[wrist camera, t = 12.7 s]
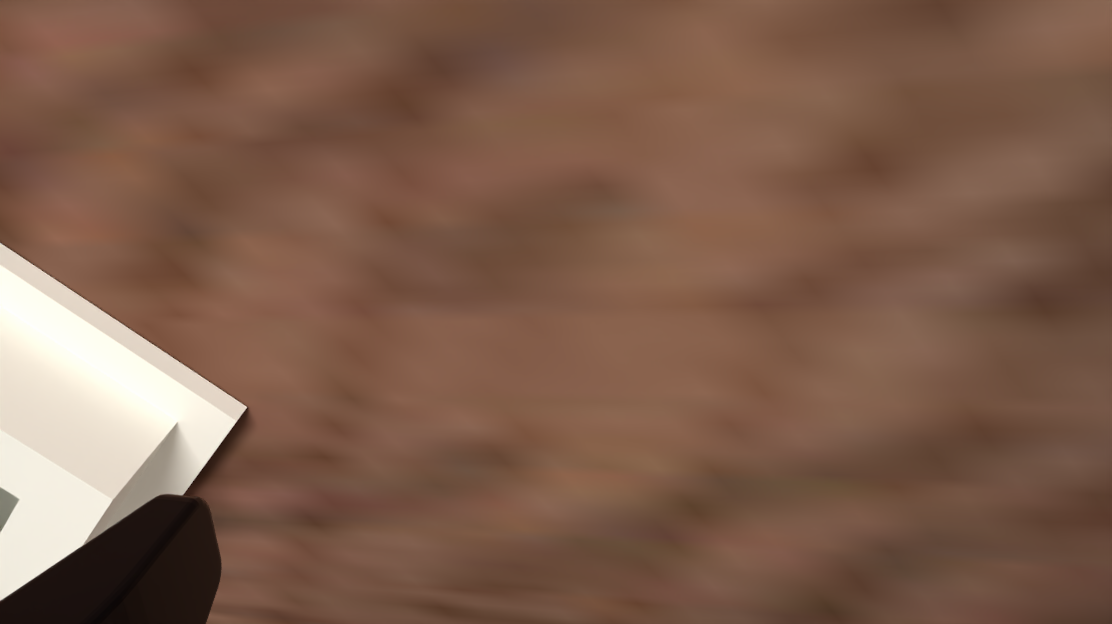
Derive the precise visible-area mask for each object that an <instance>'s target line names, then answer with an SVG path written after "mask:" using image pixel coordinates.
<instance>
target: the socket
mask: <svg viewBox="0 0 1112 624" xmlns="http://www.w3.org/2000/svg"><path fill="white" fill-rule="evenodd" d="M246 408H247V407H246V406H245V405H243V404H242V403H240V402H239V401H237V400H236V399H234V398H233V397H231V396H230V395H228V394H227V393H225V392H224V391H222V390H221V389H219V388H218V387H216V386H215V385H213V384H212V383H210V382H209V381H207V380H206V379H204V378H203V377H201V376H200V375H198V374H197V373H195V372H194V371H192V370H191V369H189V368H188V367H186V366H185V365H183V364H182V363H180V362H179V361H177V360H176V359H174V358H173V357H171V356H170V355H168V354H167V353H165V352H164V351H162V350H160V349H159V348H157V347H156V346H154V345H153V344H151V343H150V342H148V341H147V340H145V339H144V338H142V337H141V336H139V335H138V334H136V333H135V332H133V331H132V330H130V329H129V328H127V327H126V326H124V325H123V324H121V323H120V322H118V321H117V320H115V319H114V318H112V317H111V316H109V315H108V314H106V313H105V312H103V311H102V310H100V309H99V308H97V307H96V306H94V305H93V304H91V303H90V302H88V301H87V300H85V299H84V298H82V297H81V296H79V295H78V294H76V293H75V292H73V291H72V290H70V289H69V288H67V287H66V286H64V285H63V284H61V283H60V282H58V281H57V280H55V279H54V278H52V277H51V276H49V275H48V274H46V273H45V272H43V271H42V270H40V269H39V268H37V267H36V266H34V265H33V264H31V263H30V262H28V261H27V260H25V259H24V258H22V257H21V256H19V255H18V254H16V253H15V252H13V251H12V250H10V249H9V248H7V247H5V246H4V245H2V244H1V243H0V600H2V599H3V598H5V597H6V596H8V595H9V594H11V593H12V592H14V591H15V590H17V589H18V588H20V587H21V586H23V585H24V584H26V583H27V582H29V581H30V580H32V579H33V578H35V577H36V576H38V575H39V574H41V573H42V572H44V571H45V570H47V569H48V568H50V567H51V566H53V565H54V564H56V563H57V562H59V561H60V560H61V559H63V558H64V557H66V556H67V555H69V554H70V553H72V552H73V551H75V550H76V549H78V548H79V547H81V546H82V545H84V544H85V543H87V542H88V541H90V540H91V539H93V538H94V537H96V536H97V535H99V534H100V533H102V532H103V531H105V530H106V529H108V528H109V527H111V526H112V525H114V524H115V523H117V522H118V521H120V520H121V519H123V518H124V517H126V516H127V515H129V514H130V513H131V512H133V511H134V510H136V509H137V508H139V507H140V506H142V505H143V504H145V503H146V502H148V501H149V500H151V499H153V498H154V497H156V496H159V495H161V494H175V495H183V494H184V493H185V492H186V490H187V489H188V488H189V486H190V485H191V483H192V482H193V481H194V479H195V478H196V477H197V475H198V474H199V473H200V471H201V470H202V468H203V467H204V466H205V464H206V463H207V462H208V460H209V459H210V457H211V456H212V455H213V453H214V452H215V451H216V449H217V448H218V447H219V445H220V444H221V442H222V441H223V440H224V438H225V437H226V436H227V434H228V433H229V431H230V430H231V429H232V427H233V426H234V425H235V423H236V422H237V421H238V419H239V418H240V416H241V415H242V414H243V412H244V411H245V410H246Z"/></svg>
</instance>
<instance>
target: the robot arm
mask: <svg viewBox="0 0 1112 624" xmlns="http://www.w3.org/2000/svg"><path fill="white" fill-rule="evenodd" d="M220 577H221V556H220V552H219V547H218V543H217V539H216V534H215V530H214V525H213V521H212V516H211V512H210V509H209V506H208V504H207V503H206V501H205V500H204V499H202V498H200V497H196V496H185V495H175V494H161V495H159V496H156V497H154V498H153V499H151V500H149V501H148V502H146V503H145V504H143V505H142V506H140V507H139V508H137V509H136V510H134V511H133V512H131V513H130V514H129V515H127V516H126V517H124V518H123V519H121V520H120V521H118V522H117V523H115V524H114V525H112V526H111V527H109V528H108V529H106V530H105V531H103V532H102V533H100V534H99V535H97V536H96V537H94V538H93V539H91V540H90V541H88V542H87V543H85V544H84V545H82V546H81V547H79V548H78V549H76V550H75V551H73V552H72V553H70V554H69V555H67V556H66V557H64V558H63V559H61V560H60V561H59V562H57V563H56V564H54V565H53V566H51V567H50V568H48V569H47V570H45V571H44V572H42V573H41V574H39V575H38V576H36V577H35V578H33V579H32V580H30V581H29V582H27V583H26V584H24V585H23V586H21V587H20V588H18V589H17V590H15V591H14V592H12V593H11V594H9V595H8V596H6V597H5V598H3V599H2V600H0V624H206V622H207V619H208V616H209V613H210V610H211V607H212V604H213V601H214V598H215V595H216V592H217V589H218V586H219V582H220Z"/></svg>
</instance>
